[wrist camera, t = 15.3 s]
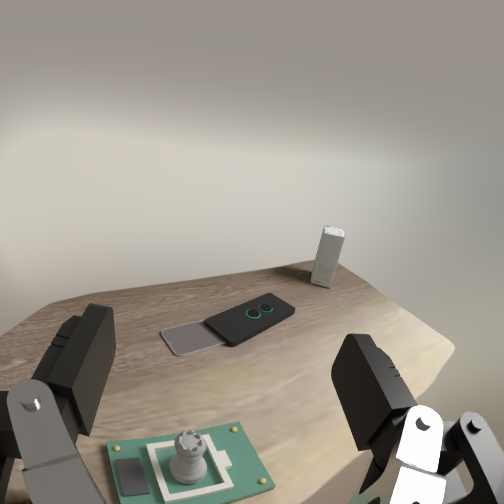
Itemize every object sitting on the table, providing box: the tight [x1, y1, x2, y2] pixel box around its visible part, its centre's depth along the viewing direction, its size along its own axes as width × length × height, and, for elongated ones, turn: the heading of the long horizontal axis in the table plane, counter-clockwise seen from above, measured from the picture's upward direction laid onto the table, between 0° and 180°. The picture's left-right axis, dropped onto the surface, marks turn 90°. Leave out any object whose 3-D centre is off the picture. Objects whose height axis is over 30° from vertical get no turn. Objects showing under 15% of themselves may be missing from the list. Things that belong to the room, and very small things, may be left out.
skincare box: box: [311, 226, 345, 288], centre depth 83 cm, size 8×6×15 cm
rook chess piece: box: [169, 430, 207, 484], centre depth 27 cm, size 4×4×8 cm
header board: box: [106, 422, 276, 504], centre depth 29 cm, size 18×11×2 cm, turn 115°
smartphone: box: [161, 319, 226, 357], centre depth 55 cm, size 7×1×15 cm
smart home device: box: [204, 293, 295, 347], centre depth 62 cm, size 8×2×20 cm
